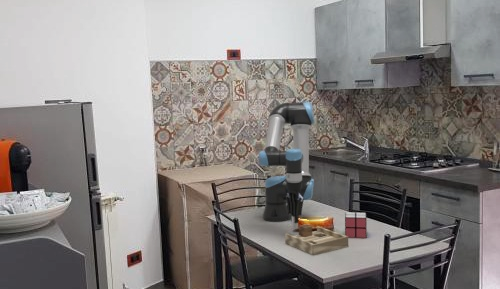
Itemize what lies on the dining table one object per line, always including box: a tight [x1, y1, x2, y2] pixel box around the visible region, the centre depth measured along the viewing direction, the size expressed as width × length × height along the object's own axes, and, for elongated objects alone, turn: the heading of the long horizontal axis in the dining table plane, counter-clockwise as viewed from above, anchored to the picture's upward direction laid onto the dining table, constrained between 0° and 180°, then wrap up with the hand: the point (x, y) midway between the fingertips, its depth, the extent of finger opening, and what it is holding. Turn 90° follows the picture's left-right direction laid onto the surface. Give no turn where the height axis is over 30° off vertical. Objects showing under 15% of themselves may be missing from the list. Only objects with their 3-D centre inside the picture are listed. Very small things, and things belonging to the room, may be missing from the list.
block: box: [298, 223, 313, 237], centre depth 239 cm, size 4×4×4 cm
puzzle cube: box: [344, 211, 368, 239], centre depth 245 cm, size 10×10×10 cm
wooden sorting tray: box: [284, 226, 349, 256], centre depth 232 cm, size 21×20×4 cm
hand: (295, 228), depth 246 cm, fingers closed
